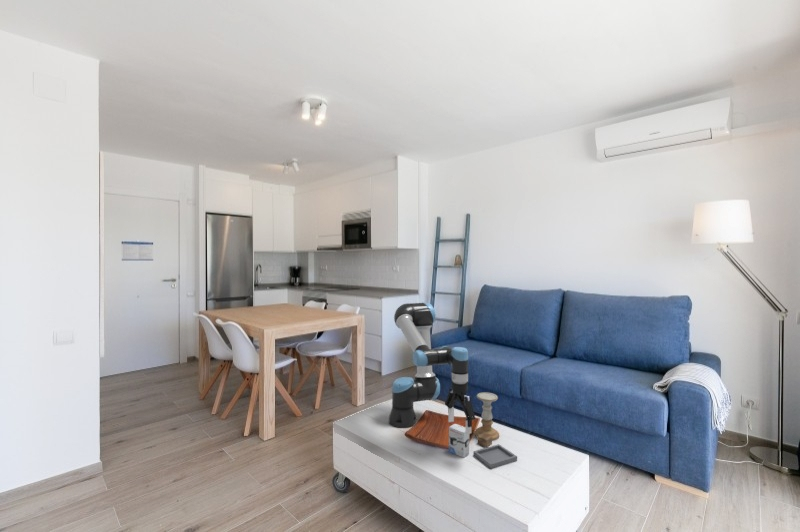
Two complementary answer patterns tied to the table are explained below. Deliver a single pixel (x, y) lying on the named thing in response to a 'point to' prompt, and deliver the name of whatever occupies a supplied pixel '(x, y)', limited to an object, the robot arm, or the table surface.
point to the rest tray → (495, 456)
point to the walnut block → (484, 440)
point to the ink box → (458, 440)
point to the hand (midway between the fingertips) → (459, 427)
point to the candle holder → (487, 415)
